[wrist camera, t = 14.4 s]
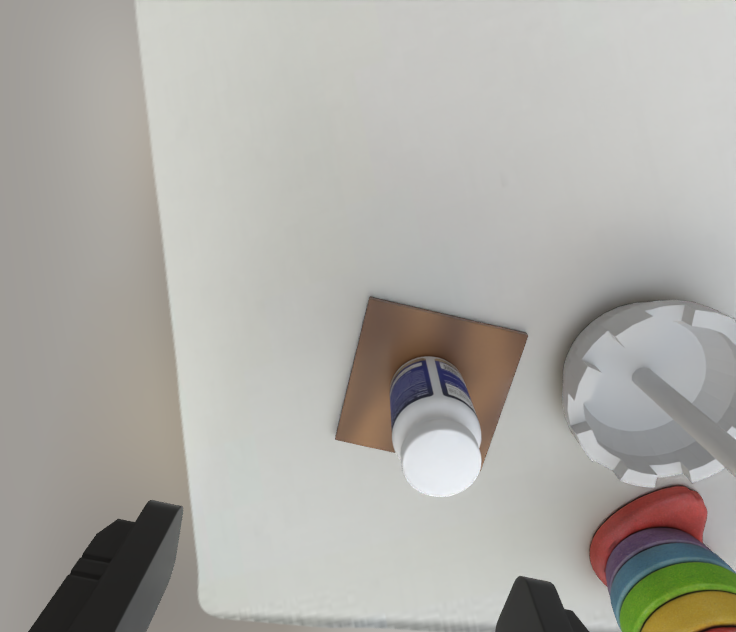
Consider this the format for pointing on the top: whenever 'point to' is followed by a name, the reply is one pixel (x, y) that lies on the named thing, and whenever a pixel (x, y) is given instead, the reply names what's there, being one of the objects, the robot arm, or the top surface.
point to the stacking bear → (664, 566)
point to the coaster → (419, 339)
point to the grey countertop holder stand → (655, 391)
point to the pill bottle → (434, 427)
